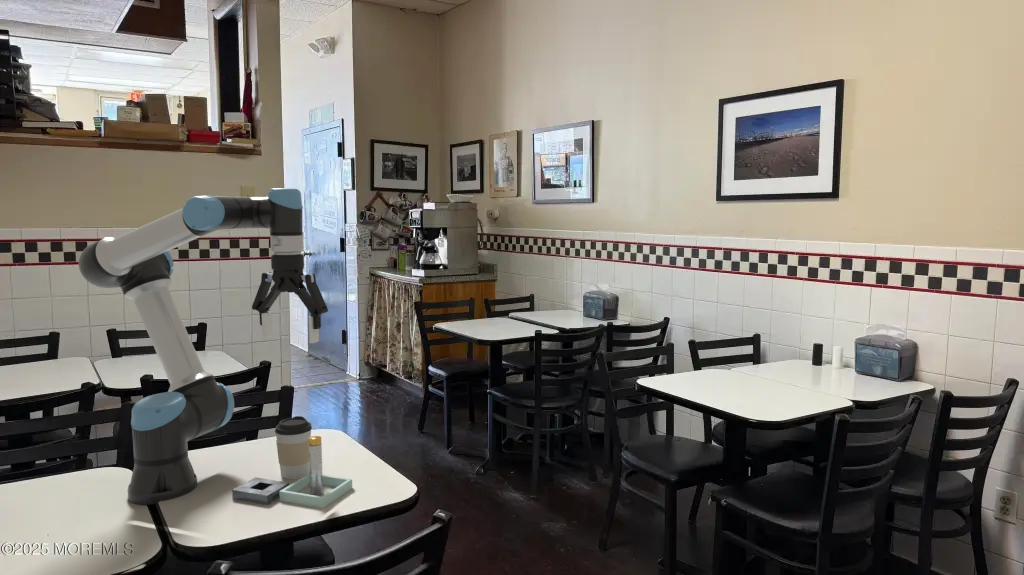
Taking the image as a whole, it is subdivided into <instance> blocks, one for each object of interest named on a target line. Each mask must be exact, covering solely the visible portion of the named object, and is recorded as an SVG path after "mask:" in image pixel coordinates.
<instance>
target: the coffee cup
mask: <svg viewBox="0 0 1024 575" xmlns="http://www.w3.org/2000/svg"><path fill="white" fill-rule="evenodd" d="M274 428H275V430H274V432H275V436H276V441H275V443H276V450H277V458H278V464H279V469H280V470H279V471H280V476H281V478H282V479H290V480H291V479H292V480H293V479H294V480H295V479H301V478H303V477H304V476H306V475H308V474H309V450H308V438H309V437H312V429H313V427H312V423H311V422H309V421H308V420H307V419H306V418H305V417H304V416H302V415H297V416H293V417H288V418H284V419H281V420H280V421H279V423H278V424H276V426H275V427H274Z"/></svg>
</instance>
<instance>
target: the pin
mask: <svg viewBox="0 0 1024 575" xmlns="http://www.w3.org/2000/svg"><path fill="white" fill-rule="evenodd" d="M322 447H323V446H322V436H320V435H313V436H312V435H311V437H309V438H308V450H309V478H310V484H309V495H315V496H321V497H322V496H324V485H323V475H324V474H323V449H322Z"/></svg>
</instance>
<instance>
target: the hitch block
mask: <svg viewBox="0 0 1024 575" xmlns="http://www.w3.org/2000/svg"><path fill="white" fill-rule="evenodd" d="M289 485H291V483H290V482H285V481H281V480H275V479H268V478H261V477H256V476H255V477H254V478H251V479H250V480H248V481H246V482H244V483H242V484H240V485H238V486H237V487H235V488H233V489H232V490H231V493H232V500H236V501H243V502H247V503H254V504H260V505H264V506H268V505H270V504H272V503H273V502H275V501H277V500H278V499H279V500H280V495H279V491H281V490H282V489H284V488H286V487H287V486H289Z"/></svg>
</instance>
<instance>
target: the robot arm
mask: <svg viewBox="0 0 1024 575" xmlns="http://www.w3.org/2000/svg"><path fill="white" fill-rule="evenodd" d="M302 200H303V199H302V192H301V191H300V189H298V188H292V187H291V188H284V187H283V188H281V187H280V188H279V187H278V188H275V187H274V188H270V189H269V190H268V194H267V196H225V195H224V196H221V195H209V194H208V195H207V194H205V195H204V194H203V195H195V196H192V197H190V198H188V199H187V200H186V202H185V203H184V204H183V207H181V208H179V209H177V210H175V211H173V212H171V213H169V214H167V215H164V216H162V217H160V218H157V219H156V220H153V221H150V222H148V223H146V224H144V225H141V226H140V227H138V228H135V229H133V230H130V231H128V232H126V233H125V234H122V235H119V236H118V237H112V236H111V237H110V236H109V237H108V236H107V237H104V238H102V239H100V240H98V241H95V242H93V243H91V244H89V245H87V246H86V247H85V248H84V249H83V251H82V252H81V254H80V256H79V259H78V268H79V272H80V274H81V276H82V277H83V279H85V280H86V281H87V282H88V283H90V284H91V285H94V286H96V287H98V288H103V289H104V288H105V289H114V288H120V289H121V291H122V294H123V296H124V298H126V299H127V300H128V299H129V300H131V301H133V302H134V305H135V307H136V309H137V312H138V313H139V317H140V318H141V321H142V323H143V325H144V328H145V329H146V332H147V334H148V336H149V339H150V341H151V344H152V345H153V348H154V350H155V353H156V355H157V357H158V359H159V362H160V364H161V366H162V369H163V371H164V373H165V375H166V378H167V380H168V383H169V384H170V385H169V388H168V391H166V392H164V391H163V392H160V393H157V394H156V393H154V394H152V395H147V396H145V397H143V398H142V399H141V398H140V399H139V400H138V401H136V403H134V405H133V406H132V408H131V419H130V426H131V436H132V446H133V448H132V449H133V460H134V462H133V463H134V465H133V466H134V467H133V469H132V474H131V479H130V482H129V484H128V486H127V497H128V498H127V499H128V501H130V503H133V504H137V505H155V504H158V503H159V502H165V501H169V500H173V499H177V498H180V497H182V496H185V495H187V494H189V493H190V492H191V493H192V492H193V491H194V490H196V488H197V487H198V477H197V474H196V473H195V470H194V468H193V465H192V463H191V461H190V458H189V448H188V442H189V441H191V440H194V439H196V438H198V437H200V436H203V435H206V434H208V433H211V432H214V431H217V430H218V429H219V428H221V427H223V426H225V425H226V424H228V422H229V421H230V420H231V418H232V417H233V413H234V411H235V399H234V394H233V393H232V391H231V390H230V388H229V387H228V386H227V385H224V384H223V383H221V382H217V381H216V378H215V377H214V374H212V373H209V372H207V371H205V369H204V367H203V365H202V362H201V360H200V358H199V356H198V354H197V351H196V349H195V347H194V344H193V341H192V339H191V338H190V335H189V333H188V331H187V328H186V326H185V324H184V322H183V319H182V316H181V315H180V312H179V310H178V308H177V306H176V302H175V301H174V299H173V296H172V295H171V292H170V290H169V289H170V286H171V284H172V282H173V281H172V279H171V276H172V274H173V272H174V268H173V267H174V261H173V260H174V259H173V257H172V254H171V252H170V251H171V250H173V249H175V248H178V247H180V246H182V245H185V244H187V243H190V242H192V241H194V240H196V239H197V240H198V238H200V237H203V236H206V235H208V234H211V233H213V232H216V231H220V230H237V229H238V230H239V229H240V230H241V229H243V230H245V229H269V234H270V236H269V237H270V252H271V253H273V254H271V255H270V266H271V267H270V268H271V270H272V272H271V271H269V272H262V273H261V276H260V277H261V279H260V284H259V287H258V289H257V292H256V295H255V297H254V300H253V303H252V305H251V309H252V310H254V311H257V312H258V313H259V314H258V315H259V325H260V326H261V331H262V332H261V334H262V340H265V341H266V340H269V339H273V320H272V319H273V318H272V316H273V315H272V311H271V309H270V308H271V307H272V306H273V305H274V304H275V302H276V300H277V299H278V297H279V296H280V295H281V293H285V292H286V293H294V294H295V295H296V296H297V297H298V298H299V300H301V302H302V303H303V305H304V306H305V307H306V309H307V311H308V312H309V313H310V315H308V337H309V338H308V339H309V340H308V341H309V344H316V343H318V342H320V335H319V334H320V332H319V331H320V330H319V329H321V328H322V327H321V326H322V318H321V317H322V315H323V314H325V313H328V312H329V308H328V307H327V304H326V301H325V300H324V297H323V295H322V293H321V290H320V288H319V286H318V284H317V279H316V274H315V273H309V274H308V273H307V274H304V269H305V255H304V254H303V253H302V252H304V251H305V249H304V248H305V246H304V232H303V208H304V207H303V202H302ZM273 282H274V283H273ZM304 283H305V284H304ZM272 284H273V285H272Z"/></svg>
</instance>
